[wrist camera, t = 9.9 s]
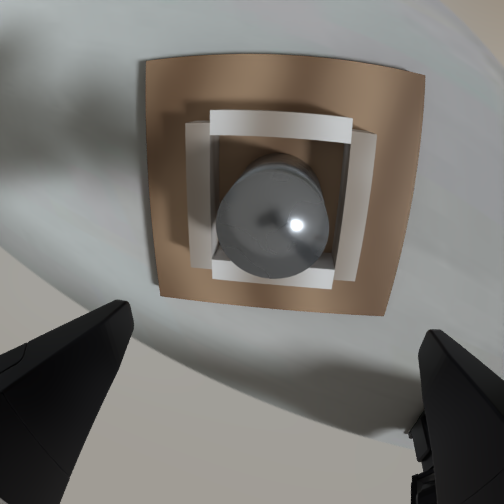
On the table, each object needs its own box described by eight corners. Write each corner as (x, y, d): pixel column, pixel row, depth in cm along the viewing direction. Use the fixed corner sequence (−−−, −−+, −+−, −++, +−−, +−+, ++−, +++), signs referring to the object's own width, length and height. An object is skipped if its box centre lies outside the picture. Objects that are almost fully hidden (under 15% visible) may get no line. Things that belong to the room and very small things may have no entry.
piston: (324, 157, 16) (335, 179, 11) (316, 236, 18) (321, 283, 13) (238, 150, 16) (215, 170, 12) (236, 229, 18) (216, 273, 14)
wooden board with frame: (418, 76, 14) (440, 72, 11) (380, 307, 20) (390, 335, 18) (153, 62, 15) (129, 57, 13) (165, 288, 22) (149, 313, 19)
